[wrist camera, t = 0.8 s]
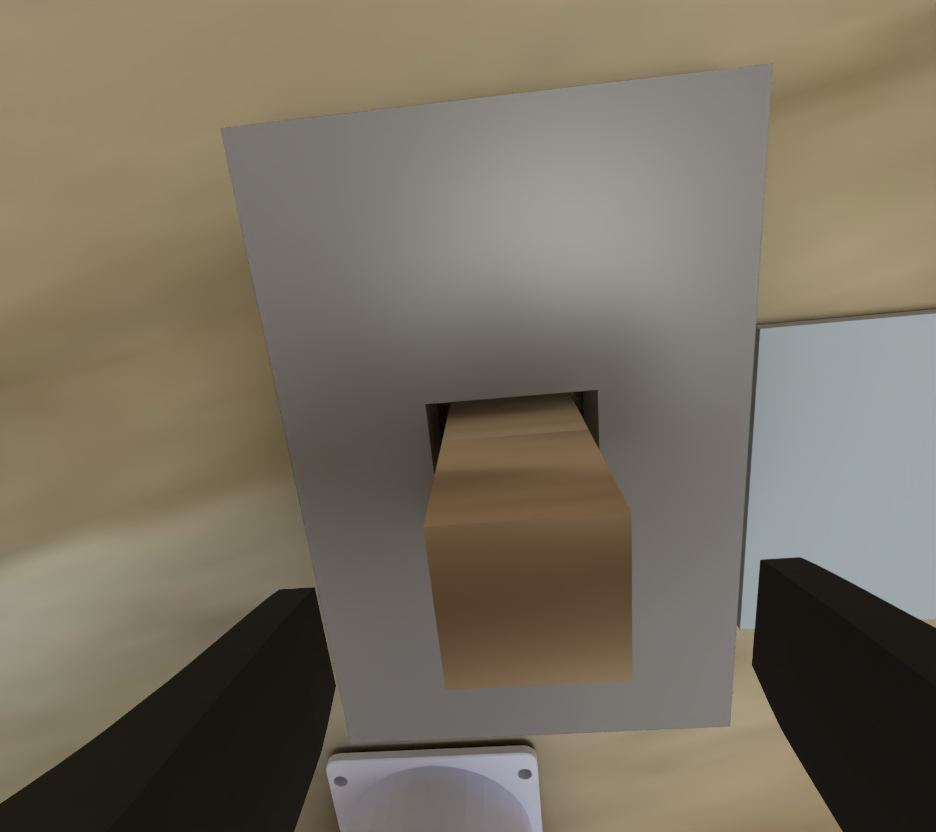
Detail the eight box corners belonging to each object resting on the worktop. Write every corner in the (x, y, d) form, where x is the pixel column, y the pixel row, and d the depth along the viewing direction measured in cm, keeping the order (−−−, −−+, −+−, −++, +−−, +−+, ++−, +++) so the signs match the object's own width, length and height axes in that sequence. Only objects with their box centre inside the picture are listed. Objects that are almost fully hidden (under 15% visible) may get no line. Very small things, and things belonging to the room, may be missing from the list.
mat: (1042, 599, 18) (1061, 611, 18) (732, 617, 19) (739, 629, 18) (1125, 292, 15) (1149, 294, 15) (750, 325, 16) (760, 328, 15)
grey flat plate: (700, 666, 19) (730, 726, 17) (366, 683, 20) (350, 743, 18) (724, 92, 14) (772, 62, 12) (263, 145, 15) (220, 128, 12)
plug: (569, 487, 18) (632, 680, 10) (463, 495, 18) (445, 690, 10) (565, 384, 16) (631, 512, 9) (452, 394, 17) (423, 527, 9)
